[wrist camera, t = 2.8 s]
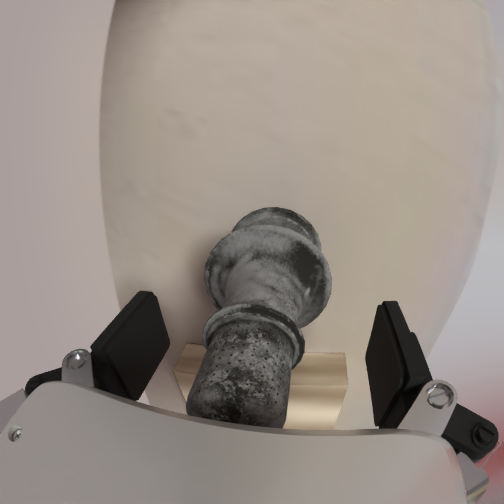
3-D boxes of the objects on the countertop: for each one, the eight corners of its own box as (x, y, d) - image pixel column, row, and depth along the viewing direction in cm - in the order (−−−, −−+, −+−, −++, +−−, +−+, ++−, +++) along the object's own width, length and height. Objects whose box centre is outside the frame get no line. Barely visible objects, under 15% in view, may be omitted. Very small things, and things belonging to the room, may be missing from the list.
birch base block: (186, 343, 20) (172, 370, 18) (345, 353, 18) (348, 385, 15) (215, 425, 26) (208, 447, 24) (322, 434, 24) (321, 457, 21)
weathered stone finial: (214, 276, 17) (121, 454, 6) (238, 187, 14) (85, 362, 4) (303, 306, 17) (286, 503, 6) (343, 223, 14) (402, 450, 3)
